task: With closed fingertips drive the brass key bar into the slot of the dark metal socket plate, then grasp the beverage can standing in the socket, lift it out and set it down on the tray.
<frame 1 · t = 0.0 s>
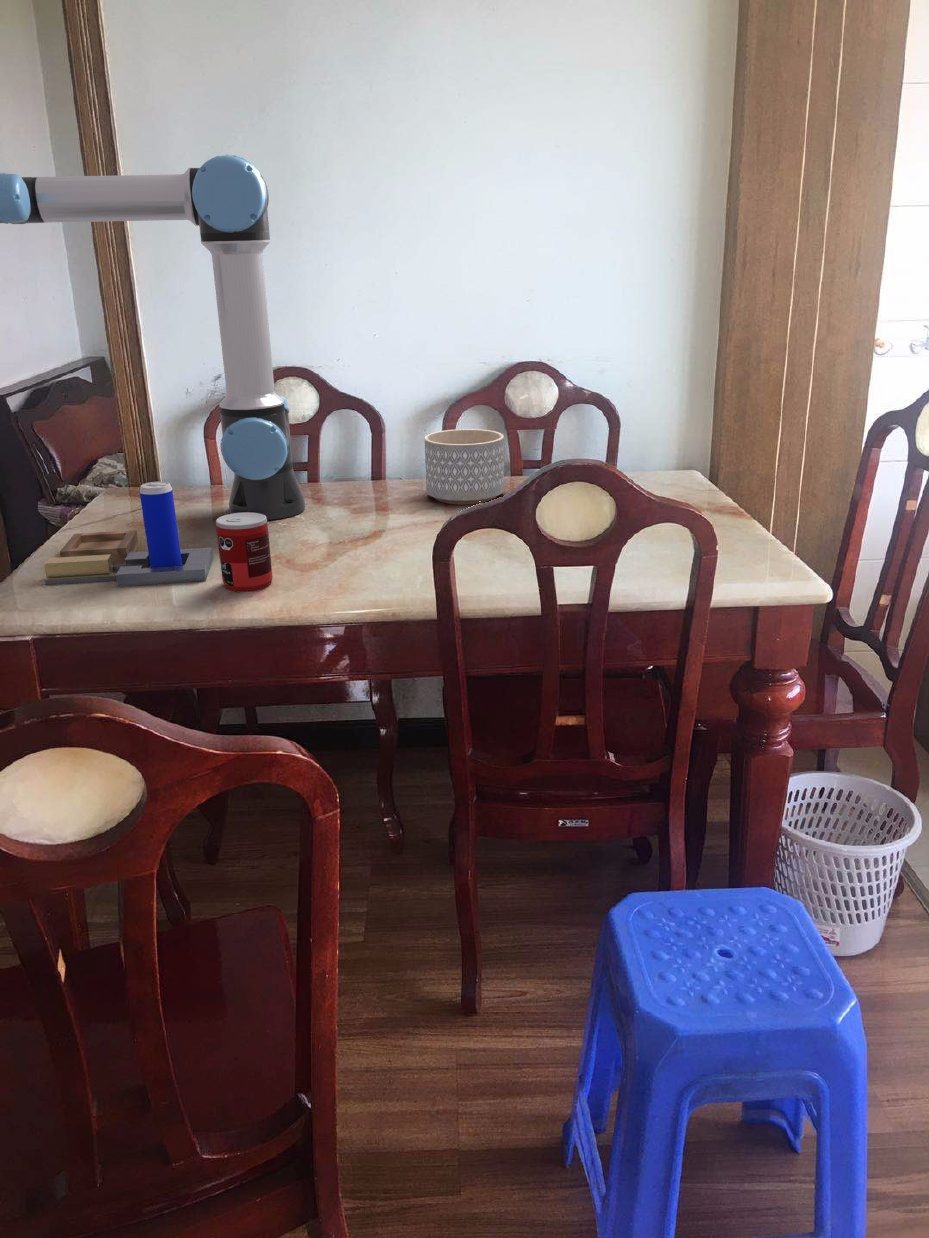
beverage can: (167, 573, 168), resting in socket plate
canned food: (248, 585, 161), on the table
key bar: (79, 567, 165), point 2 cm above the table, slide at 0.0 cm
planter: (465, 497, 210), on the table
tray: (101, 555, 177), on the table
socket plate: (167, 571, 168), on the table
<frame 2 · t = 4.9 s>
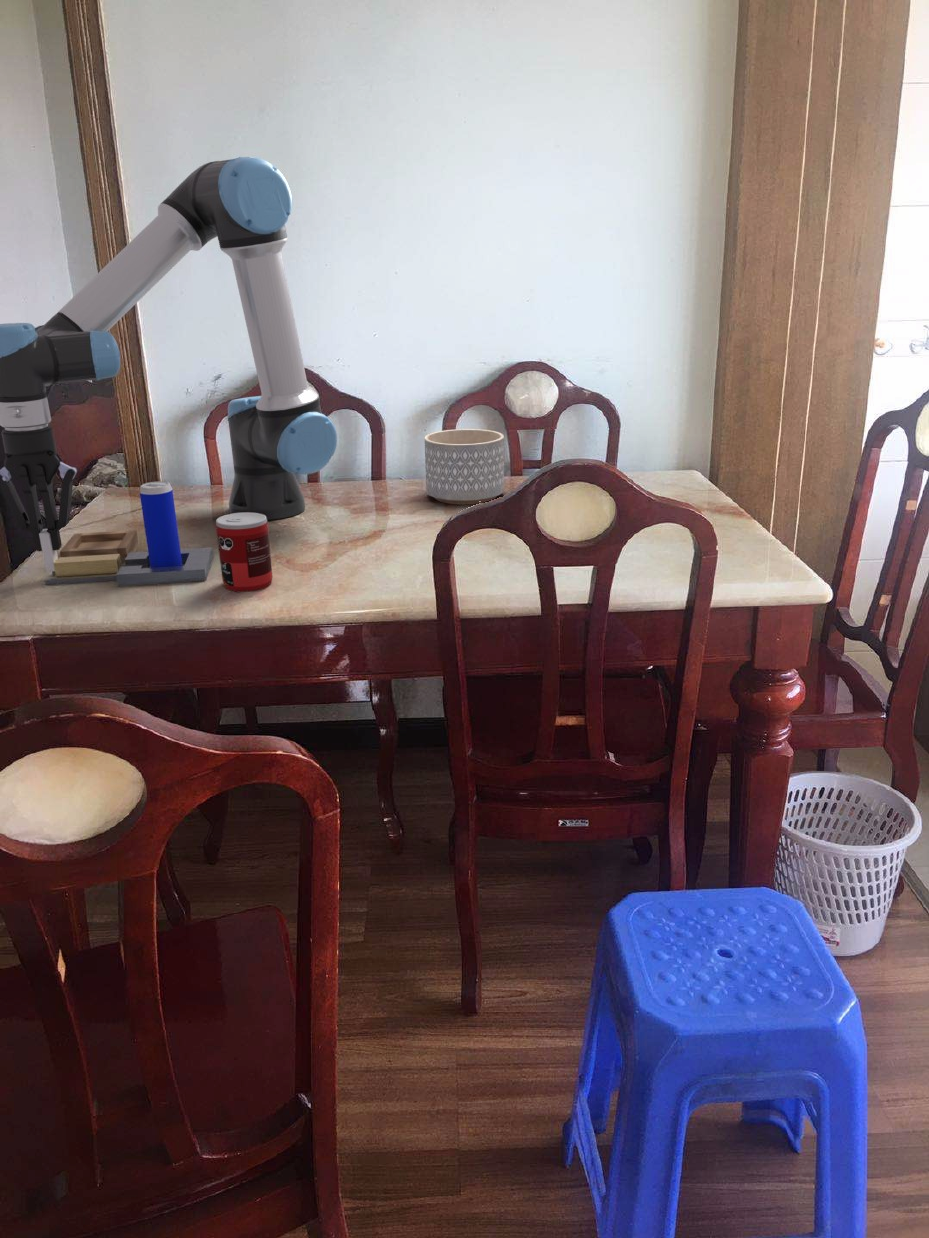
hand: (52, 568, 165), 2 cm above the table, fingers closed
key bar: (88, 567, 166), point 2 cm above the table, slide at 1.5 cm, touching gripper
everything else where it was.
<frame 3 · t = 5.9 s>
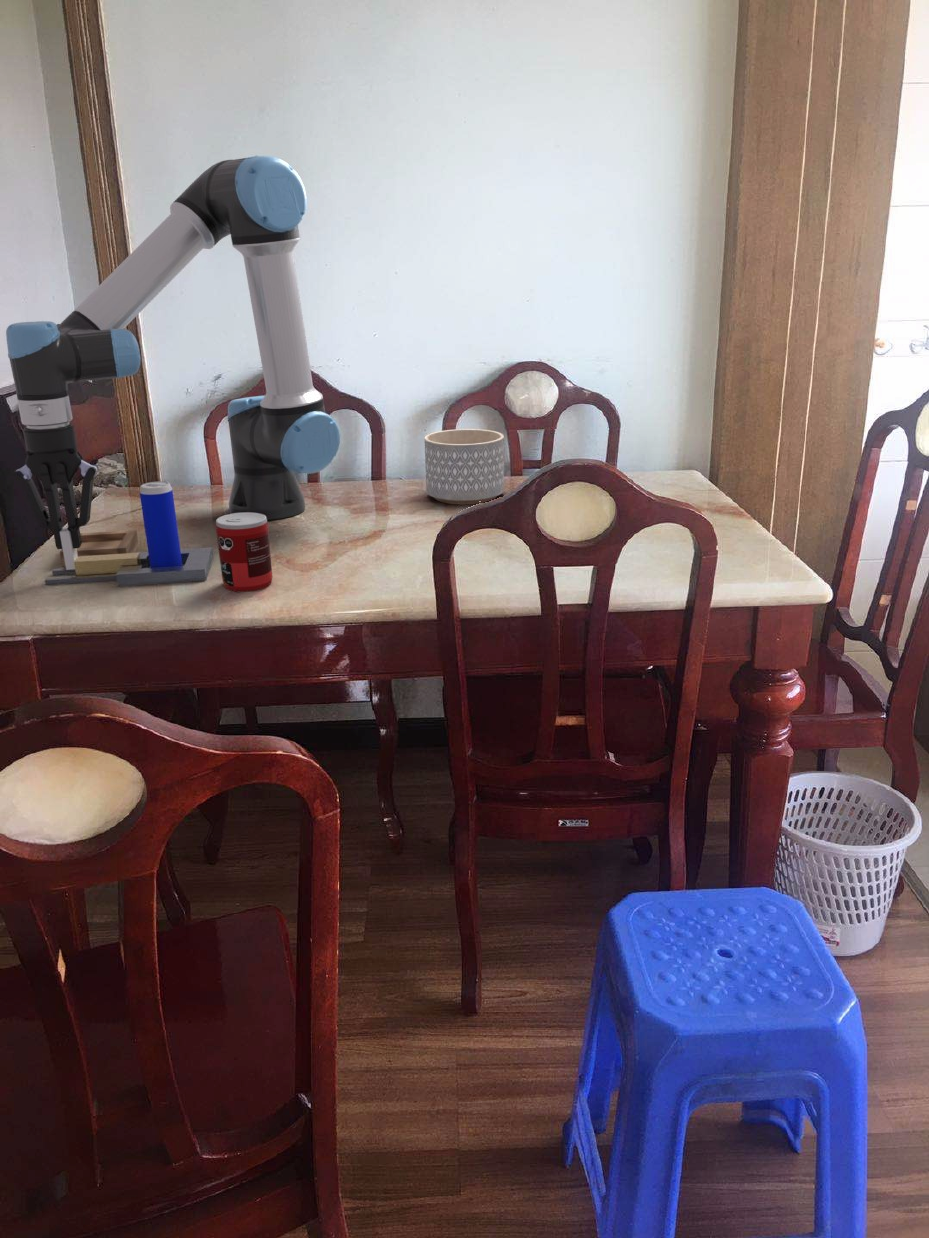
hand: (72, 566, 165), 2 cm above the table, fingers closed
key bar: (108, 565, 166), point 2 cm above the table, slide at 4.7 cm, touching gripper
everything else where it was.
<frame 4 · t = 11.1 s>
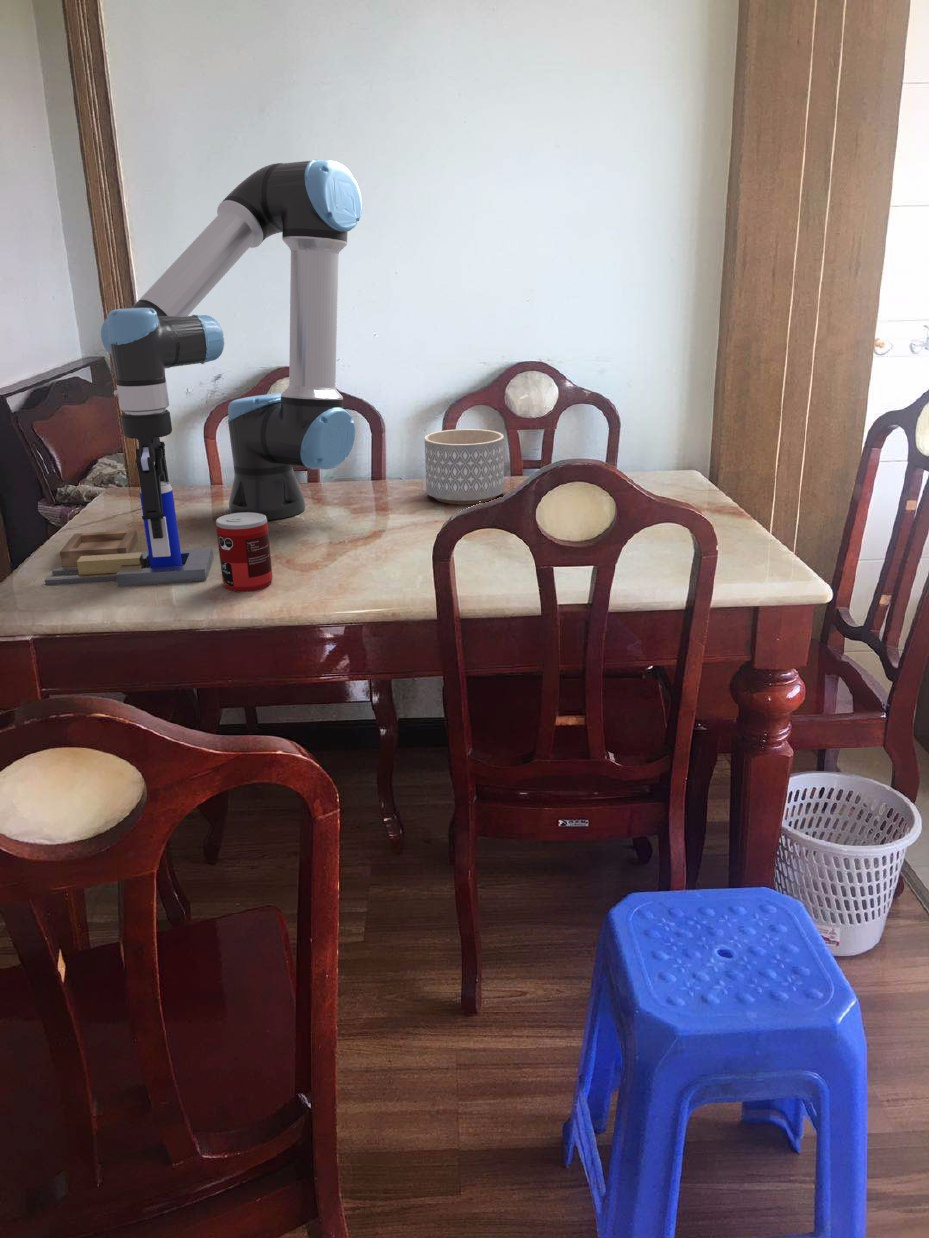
hand: (164, 550, 166), 4 cm above the table, fingers closed on beverage can, 5 cm apart
beverage can: (167, 573, 168), resting in socket plate, touching gripper
key bar: (111, 565, 166), point 2 cm above the table, slide at 5.1 cm
everything else where it was.
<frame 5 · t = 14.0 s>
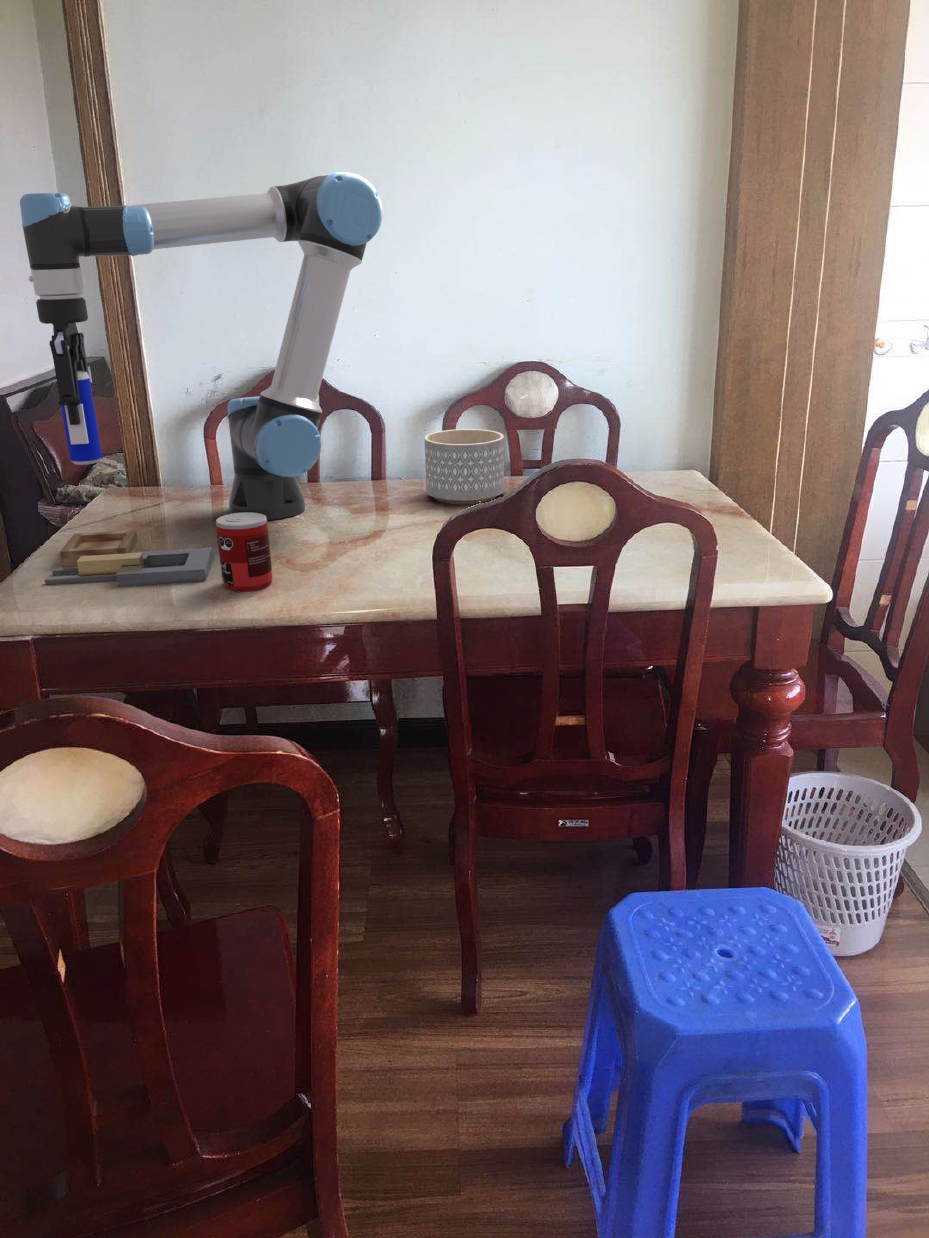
hand: (83, 439, 170), 21 cm above the table, fingers closed on beverage can, 5 cm apart
beverage can: (87, 463, 171), point 17 cm above the table, touching gripper
everything else where it was.
when the fingers open (7 cm above the table, at t = 16.8 s): beverage can drops 1 cm, resting on tray.
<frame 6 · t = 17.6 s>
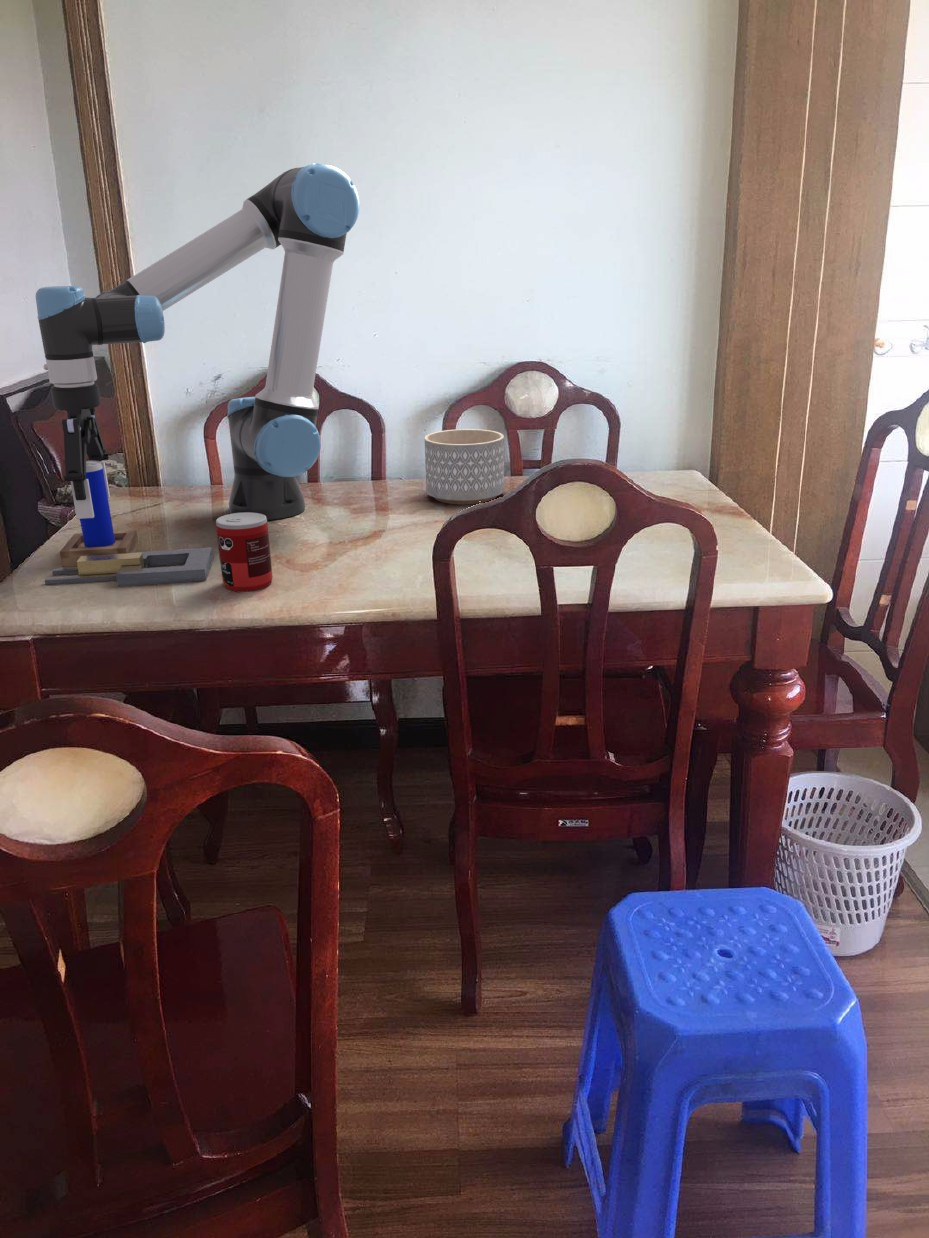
hand: (94, 507, 174), 9 cm above the table, fingers open, 13 cm apart
beverage can: (100, 548, 177), point 1 cm above the table, touching tray
everything else where it was.
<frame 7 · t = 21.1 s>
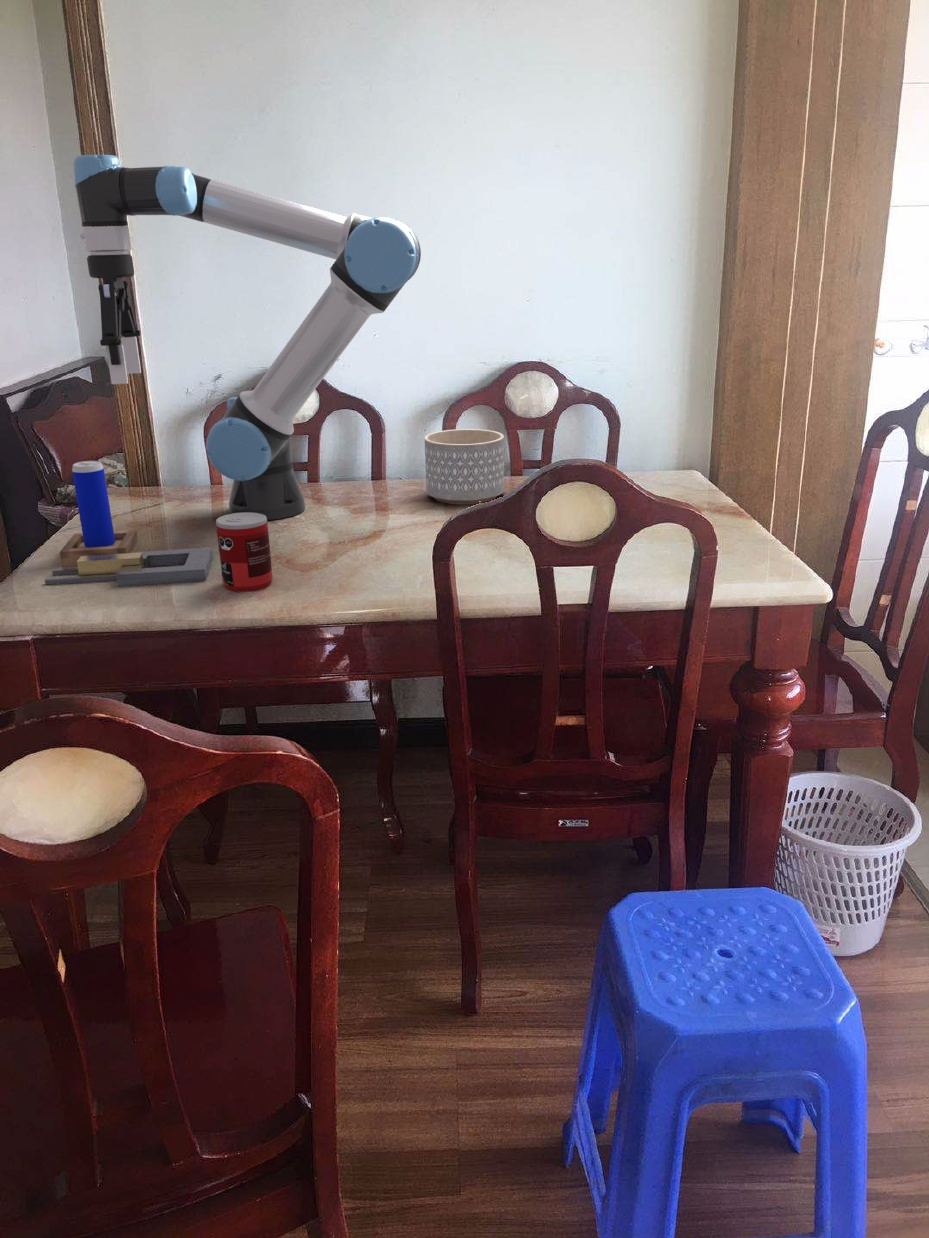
hand: (127, 378, 180), 29 cm above the table, fingers open, 13 cm apart
nothing on the table moved.
at the end: key bar slide at 5.1 cm; beverage can inside the target area on the tray (0.0 cm from its centre), point 1.3 cm above the tray's base; beverage can tilted 0° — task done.
